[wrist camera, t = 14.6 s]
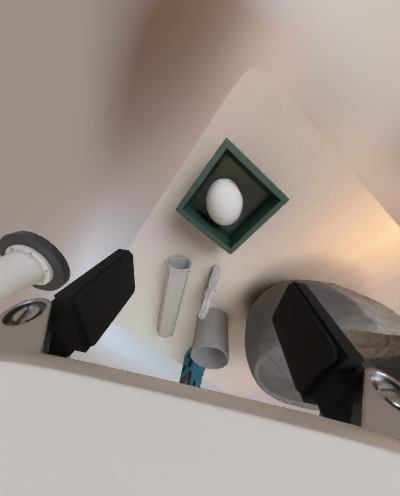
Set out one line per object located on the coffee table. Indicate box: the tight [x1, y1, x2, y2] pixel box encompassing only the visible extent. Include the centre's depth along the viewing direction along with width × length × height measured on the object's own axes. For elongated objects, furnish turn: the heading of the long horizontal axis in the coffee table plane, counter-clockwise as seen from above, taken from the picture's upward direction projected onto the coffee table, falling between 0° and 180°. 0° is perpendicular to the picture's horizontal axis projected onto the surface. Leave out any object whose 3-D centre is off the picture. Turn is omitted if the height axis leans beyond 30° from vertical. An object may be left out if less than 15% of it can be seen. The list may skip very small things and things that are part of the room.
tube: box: [157, 256, 191, 338], centre depth 38 cm, size 5×5×25 cm
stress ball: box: [206, 178, 246, 226], centre depth 26 cm, size 8×8×7 cm
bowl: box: [245, 280, 400, 410], centre depth 29 cm, size 24×24×15 cm
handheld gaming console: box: [179, 347, 205, 388], centre depth 43 cm, size 10×4×15 cm, turn 153°
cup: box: [191, 308, 229, 369], centre depth 38 cm, size 8×8×10 cm
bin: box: [176, 138, 289, 254], centre depth 25 cm, size 12×12×6 cm
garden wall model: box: [198, 266, 220, 319], centre depth 35 cm, size 12×2×6 cm, turn 166°
